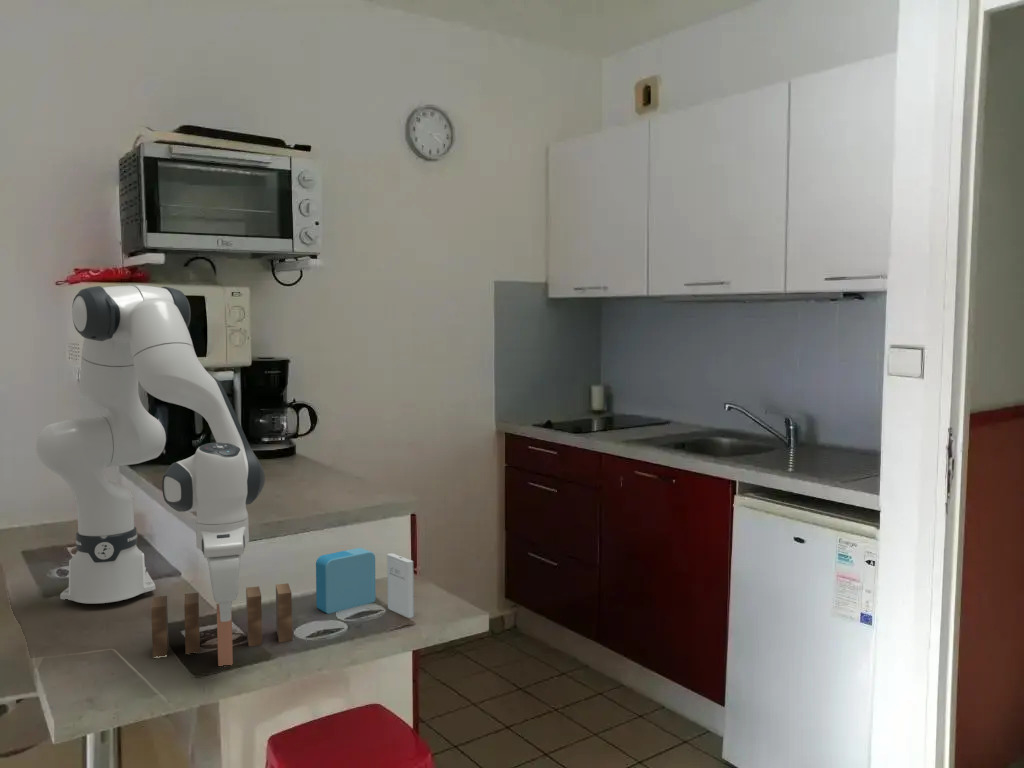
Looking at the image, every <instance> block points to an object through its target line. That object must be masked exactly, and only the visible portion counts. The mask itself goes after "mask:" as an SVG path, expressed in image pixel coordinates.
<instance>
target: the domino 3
mask: <svg viewBox="0 0 1024 768" xmlns="http://www.w3.org/2000/svg"><path fill="white" fill-rule="evenodd" d="M232 616H233V614H232V611H231V620H230V621H226V622H222V621H221V620H220V608H219V603H216V632H217V635H216V637H217V641H216V642H217V665H218V666H223V665H231V666H233V665H232V664H234V657H233V656H234V655H233V653H234V652H233V619H232V618H233V617H232Z"/></svg>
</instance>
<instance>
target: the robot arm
mask: <svg viewBox="0 0 1024 768" xmlns="http://www.w3.org/2000/svg"><path fill="white" fill-rule="evenodd" d="M191 313H192V312H191V305H190V302H189V299H188V298H187V297H186V295H185V293H184V292H183V291H182V290H179V289H178V288H173V287H169V286H162V287H159V286H152V285H151V286H150V285H142V284H141V285H140V284H131V285H115V286H105V287H104V286H103V287H102V286H100V285H97V286H90V287H85V288H82V289H80V290H79V291H78V292H77V294H76V295H75V296H74V298H73V302H72V307H71V316H72V317H71V318H72V322H73V325H74V328H75V330H76V332H77V333H78V334H79V335H80V336H81V337H82V338H83V344H82V352H81V359H80V360H81V361H80V362H81V363H80V372H79V373H80V376H79V389H80V392H81V394H82V395H83V397H84V398H85V399H87V400H88V401H90V402H91V403H93V404H95V405H98V406H100V407H103V408H104V409H105V415H104V416H103V415H102V416H100V417H98V416H97V417H85V418H84V417H83V418H82V417H81V418H72V419H71V418H69V419H65V420H61V421H58V422H54V423H51V424H47V425H45V426H44V427H43V428H42V430H41V431H40V433H39V435H38V437H37V440H36V445H35V446H36V454H37V457H38V459H39V460H40V462H41V464H42V465H43V466H45V468H46V469H49V470H50V471H51V472H54V473H55V474H57V475H58V476H60V477H61V478H62V479H63V480H64V482H65V483H66V484H67V485H68V486H69V488H70V490H71V492H72V494H73V496H74V501H75V505H76V506H75V507H76V515H77V528H78V529H77V532H76V534H75V549H76V553H75V554H74V555H73V556H72V557H71V559H69V561H68V587H67V588H66V589H64V590H63V591H62V592H61V593H60V594H59V595H60V596H59V598H60V600H65V599H68V600H69V601H73V602H76V603H81V604H105V603H106V604H108V603H114V602H120V601H123V600H128V599H131V598H134V597H136V596H140V595H141V594H144V593H148V592H151V591H154V590H156V583H155V582H154V579H152V576H150V574H149V572H148V568H147V567H146V566H145V563H146V562H145V554H144V552H143V551H142V550H140V549H139V547H138V546H137V544H138V532H137V527H136V526H135V508H134V501H135V499H134V496H133V494H132V492H131V489H129V488H128V487H126V486H124V485H122V484H121V483H117V482H114V481H113V480H112V481H111V480H109V479H107V477H106V472H105V471H106V469H107V468H112V467H120V466H130V465H137V464H141V463H145V462H147V461H151V460H154V459H157V458H158V457H159V456H161V454H162V452H163V451H164V449H165V447H166V443H167V436H166V431H165V427H164V426H163V424H162V423H161V422H160V421H159V420H158V419H157V418H156V417H155V416H153V415H152V414H150V412H148V411H147V409H146V408H145V407H144V405H143V403H142V401H141V399H140V394H139V384H140V386H141V387H142V388H143V390H144V391H146V392H147V393H148V394H149V395H150V396H152V397H154V398H156V399H158V400H160V401H162V402H166V403H168V404H174V405H178V406H181V407H185V408H187V409H190V410H192V411H194V412H196V413H197V414H199V415H201V417H203V419H205V421H206V422H207V423H208V426H209V429H210V431H211V433H212V435H213V437H214V440H215V442H209V443H204V444H202V445H200V446H198V448H196V451H195V453H194V454H193V455H191V456H189V457H187V458H185V459H182V460H178V461H176V462H175V461H174V462H173V463H171V464H170V465H169V467H168V468H167V469H166V471H165V473H164V474H163V476H162V483H161V484H162V487H161V489H162V490H161V491H162V495H163V499H164V502H165V503H166V504H167V505H168V506H169V507H170V508H172V510H175V512H176V511H177V512H179V513H191V512H195V513H196V517H195V537H196V539H195V541H196V545H195V546H196V547H197V549H199V550H200V551H201V552H202V555H203V556H204V559H205V558H206V561H207V565H208V571H209V578H210V584H211V591H212V596H213V600H214V602H215V603H218V604H219V608H220V620H221V621H222V622H226V621H230V620H231V612H232V608H233V607H232V604H233V602H234V601H236V600H237V598H238V593H239V583H240V580H239V579H240V572H241V571H240V570H241V568H240V567H241V557H242V555H244V551H245V548H246V546H247V545H248V544H249V543H250V538H249V537H250V535H249V534H250V533H249V532H250V530H249V513H248V510H247V506H248V505H251V504H252V503H253V502H254V501H255V500H256V499H257V498H258V497H259V495H260V494H261V493H262V491H263V488H264V486H265V483H266V475H265V470H264V467H263V466H262V464H261V461H260V460H259V459H258V457H257V455H256V454H255V453H254V450H253V449H252V447H251V446H250V444H249V441H248V439H247V437H246V434H245V433H244V429H243V427H242V426H241V424H240V421H239V419H238V417H237V414H236V411H235V410H234V408H233V405H232V403H231V400H230V399H229V397H228V394H227V392H226V391H225V388H224V387H223V385H222V383H221V381H219V379H217V378H216V377H214V376H212V375H211V374H210V373H209V372H208V371H207V369H205V367H204V366H203V365H202V363H201V362H200V360H199V358H198V356H197V354H196V351H195V348H194V344H193V340H192V338H191V337H192V336H191V334H190V331H189V329H188V327H189V326H190V323H191V317H192V316H191Z"/></svg>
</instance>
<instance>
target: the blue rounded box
mask: <svg viewBox="0 0 1024 768" xmlns="http://www.w3.org/2000/svg"><path fill="white" fill-rule="evenodd" d="M315 585H316V586H315V591H316V593H315V595H316V601H315V602H316V608H317V609H318V610H320V611H321V612H323V613H325V614H327V615H329V614H335V613H337V612H341V611H345V610H349V609H353V608H357V607H360V606H361V607H362V606H364V605H368V604H373V603H375V602H376V596H377V595H376V590H377V589H376V555H375V554H374V552H372V551H370V550H367V549H365V548H362V547H357V548H352V549H347V550H346V549H345V550H342V551H337V552H333V553H326V554H322V555H320V556H319V557H317V559H316V562H315Z"/></svg>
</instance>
